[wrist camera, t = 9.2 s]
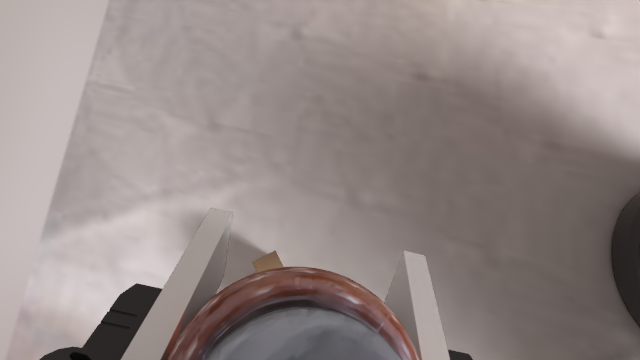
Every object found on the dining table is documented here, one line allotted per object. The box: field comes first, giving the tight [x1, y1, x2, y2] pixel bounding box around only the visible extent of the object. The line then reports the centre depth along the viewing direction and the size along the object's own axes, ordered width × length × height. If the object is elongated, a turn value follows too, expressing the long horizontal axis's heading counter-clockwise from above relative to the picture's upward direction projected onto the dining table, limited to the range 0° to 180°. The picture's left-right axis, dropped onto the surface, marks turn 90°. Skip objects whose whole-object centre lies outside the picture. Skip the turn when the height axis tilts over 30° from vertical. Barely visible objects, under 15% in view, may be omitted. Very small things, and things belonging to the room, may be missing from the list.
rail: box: [253, 251, 283, 273], centre depth 28 cm, size 12×2×5 cm, turn 29°
